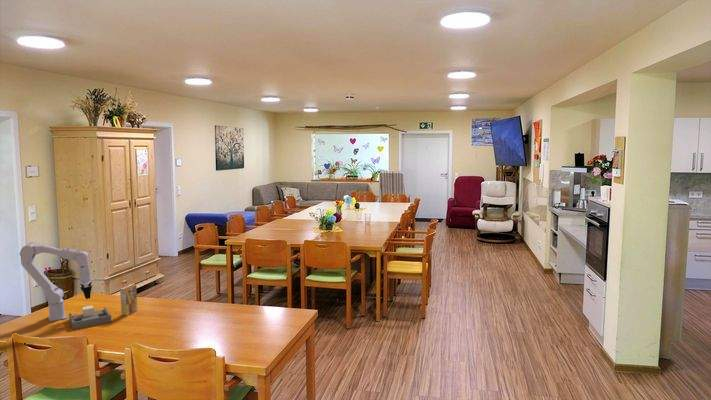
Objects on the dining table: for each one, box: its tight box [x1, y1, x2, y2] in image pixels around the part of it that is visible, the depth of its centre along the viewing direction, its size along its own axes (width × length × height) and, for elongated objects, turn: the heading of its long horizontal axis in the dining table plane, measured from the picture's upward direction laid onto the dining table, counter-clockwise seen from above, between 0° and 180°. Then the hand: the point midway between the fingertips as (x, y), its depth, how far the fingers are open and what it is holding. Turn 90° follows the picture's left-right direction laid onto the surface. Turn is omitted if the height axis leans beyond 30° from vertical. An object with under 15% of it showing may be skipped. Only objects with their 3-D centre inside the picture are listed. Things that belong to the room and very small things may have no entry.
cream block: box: [81, 305, 95, 317], centre depth 270 cm, size 5×5×4 cm
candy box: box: [119, 283, 139, 316], centre depth 277 cm, size 9×4×15 cm, turn 166°
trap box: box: [68, 306, 112, 330], centre depth 266 cm, size 17×18×4 cm
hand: (87, 296), depth 274 cm, fingers open, 7 cm apart
